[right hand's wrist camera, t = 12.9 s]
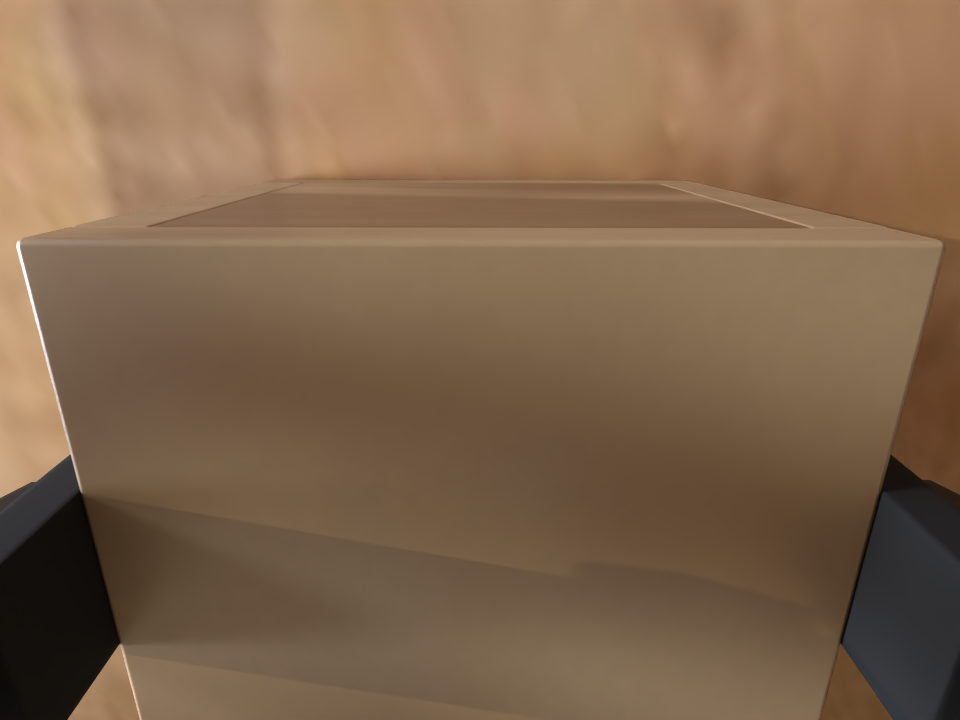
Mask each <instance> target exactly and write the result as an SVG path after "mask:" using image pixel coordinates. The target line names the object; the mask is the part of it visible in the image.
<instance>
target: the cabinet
mask: <svg viewBox="0 0 960 720" xmlns="http://www.w3.org/2000/svg"><path fill="white" fill-rule="evenodd" d="M17 251H18V255H19V258H20V262H21V266H22V270H23V274H24V278H25V281H26V285H27V289H28V293H29V297H30V300H31V304H32V308H33V312H34V316H35V320H36V323H37V327H38V331H39V335H40V339H41V343H42V346H43V350H44V354H45V358H46V362H47V366H48V369H49V373H50V377H51V381H52V385H53V389H54V392H55V396H56V400H57V404H58V408H59V412H60V415H61V419H62V423H63V427H64V431H65V435H66V438H67V442H68V446H69V450H70V454H71V457H72V461H73V465H74V469H75V473H76V477H77V480H78V484H79V488H80V492H81V496H82V500H83V503H84V507H85V511H86V515H87V519H88V523H89V526H90V530H91V534H92V538H93V542H94V546H95V549H96V553H97V557H98V561H99V565H100V569H101V572H102V576H103V580H104V584H105V588H106V592H107V595H108V599H109V603H110V607H111V611H112V614H113V618H114V622H115V626H116V630H117V634H118V637H119V641H120V645H121V649H122V653H123V657H124V660H125V664H126V668H127V672H128V676H129V680H130V683H131V687H132V691H133V695H134V699H135V703H136V706H137V710H138V714H139V718H140V720H820V718H821V714H822V711H823V707H824V703H825V699H826V696H827V692H828V688H829V684H830V681H831V677H832V673H833V669H834V666H835V662H836V658H837V654H838V651H839V647H840V643H841V639H842V635H843V632H844V628H845V624H846V620H847V617H848V613H849V609H850V605H851V602H852V598H853V594H854V590H855V587H856V583H857V579H858V575H859V572H860V568H861V564H862V560H863V557H864V553H865V549H866V545H867V542H868V538H869V534H870V530H871V527H872V523H873V519H874V515H875V511H876V508H877V504H878V500H879V496H880V493H881V489H882V485H883V481H884V478H885V474H886V470H887V466H888V463H889V459H890V455H891V451H892V448H893V444H894V440H895V436H896V433H897V429H898V425H899V421H900V418H901V414H902V410H903V406H904V403H905V399H906V395H907V391H908V388H909V384H910V380H911V376H912V372H913V369H914V365H915V361H916V357H917V354H918V350H919V346H920V342H921V339H922V335H923V331H924V327H925V324H926V320H927V316H928V312H929V309H930V305H931V301H932V297H933V294H934V290H935V286H936V282H937V279H938V275H939V271H940V267H941V264H942V260H943V256H944V252H945V243H944V242H942V241H940V240H938V239H934V238H929V237H925V236H921V235H917V234H912V233H908V232H904V231H899V230H895V229H890V228H888V227H885V226H881V225H876V224H872V223H868V222H863V221H859V220H855V219H851V218H846V217H842V216H838V215H833V214H829V213H825V212H820V211H816V210H812V209H808V208H803V207H799V206H795V205H790V204H786V203H782V202H777V201H773V200H769V199H765V198H760V197H756V196H752V195H747V194H743V193H739V192H734V191H730V190H726V189H721V188H717V187H713V186H709V185H704V184H700V183H696V182H692V181H687V180H270V181H266V182H262V183H258V184H254V185H249V186H245V187H241V188H236V189H232V190H228V191H223V192H219V193H214V194H210V195H206V196H201V197H197V198H193V199H188V200H184V201H180V202H175V203H171V204H167V205H162V206H158V207H154V208H149V209H145V210H141V211H136V212H132V213H128V214H123V215H119V216H115V217H110V218H106V219H101V220H97V221H93V222H88V223H84V224H80V225H76V226H74V227H69V228H64V229H60V230H56V231H51V232H47V233H43V234H38V235H34V236H30V237H25V238H23V239H20V240H19V241H18V242H17Z"/></svg>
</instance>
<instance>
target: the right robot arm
mask: <svg viewBox="0 0 960 720" xmlns="http://www.w3.org/2000/svg"><path fill="white" fill-rule="evenodd" d="M119 644H120V641H119V637H118V634H117V630H116V626H115V622H114V618H113V614H112V611H111V607H110V603H109V599H108V595H107V592H106V588H105V584H104V580H103V576H102V572H101V569H100V565H99V561H98V557H97V553H96V549H95V546H94V542H93V538H92V534H91V530H90V526H89V523H88V519H87V515H86V511H85V507H84V503H83V500H82V496H81V492H80V488H79V484H78V480H77V477H76V473H75V469H74V465H73V461H72V457H71V454H70V455H69V456H68V457H67V458H65V459H64V460H63V461H62V462H60V463H59V464H58V465H57V466H55V467H54V468H53V469H52V470H51V471H49V472H48V473H47V474H46V475H44V476H43V477H42V478H41V479H39V480H38V481H37V482H31V483H29V484H27V485H25V486H23V487H21V488H19V489H17V490H15V491H13V492H11V493H9V494H7V495H5V496H3V497H1V498H0V720H67V719H68V718H69V716H70V715H71V713H72V712H73V710H74V709H75V708H76V706H77V705H78V703H79V702H80V700H81V699H82V697H83V696H84V695H85V693H86V692H87V690H88V689H89V687H90V686H91V684H92V683H93V681H94V680H95V679H96V677H97V676H98V674H99V673H100V671H101V670H102V668H103V667H104V666H105V664H106V663H107V661H108V660H109V658H110V657H111V655H112V654H113V653H114V651H115V650H116V648H117V647H118V645H119ZM841 644H842V646H843V647H844V649H845V650H846V652H847V653H848V654H849V656H850V657H851V659H852V660H853V662H854V663H855V665H856V666H857V667H858V669H859V670H860V672H861V673H862V675H863V676H864V678H865V679H866V681H867V682H868V683H869V685H870V686H871V688H872V689H873V691H874V692H875V694H876V695H877V696H878V698H879V699H880V701H881V702H882V704H883V705H884V707H885V708H886V710H887V711H888V712H889V714H890V715H891V717H892V718H893V720H960V495H958V494H956V493H954V492H952V491H950V490H948V489H946V488H944V487H942V486H940V485H938V484H936V483H934V482H932V481H931V480H921V479H920V478H919V477H918V476H916V475H915V474H914V473H913V472H911V471H910V470H909V469H908V468H907V467H905V466H904V465H903V464H902V463H900V462H899V461H898V460H897V459H895V458H894V457H893V456H892V455H890V459H889V463H888V466H887V470H886V474H885V478H884V481H883V485H882V489H881V493H880V496H879V500H878V504H877V508H876V511H875V515H874V519H873V523H872V527H871V530H870V534H869V538H868V542H867V545H866V549H865V553H864V557H863V560H862V564H861V568H860V572H859V575H858V579H857V583H856V587H855V590H854V594H853V598H852V602H851V605H850V609H849V613H848V617H847V620H846V624H845V628H844V632H843V635H842V639H841Z"/></svg>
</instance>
